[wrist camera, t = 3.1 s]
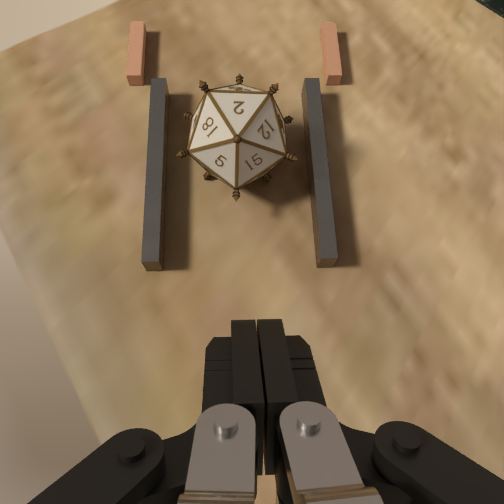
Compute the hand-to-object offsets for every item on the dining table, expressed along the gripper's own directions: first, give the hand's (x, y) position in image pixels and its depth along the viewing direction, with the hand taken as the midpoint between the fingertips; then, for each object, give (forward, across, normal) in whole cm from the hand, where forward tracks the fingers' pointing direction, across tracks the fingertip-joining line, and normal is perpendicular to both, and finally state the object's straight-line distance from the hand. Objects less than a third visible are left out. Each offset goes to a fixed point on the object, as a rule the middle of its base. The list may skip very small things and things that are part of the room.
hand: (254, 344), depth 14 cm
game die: (+26, 0, +1) cm, 26 cm away
